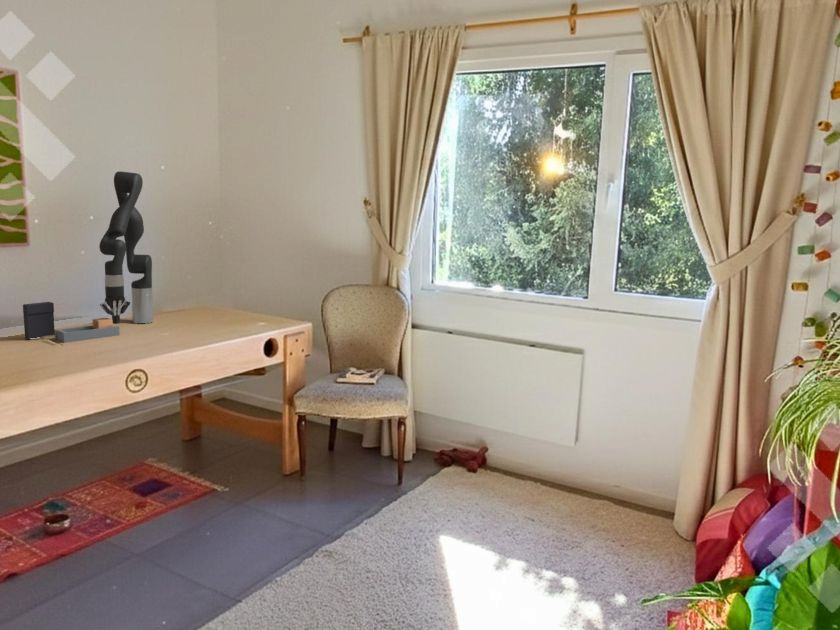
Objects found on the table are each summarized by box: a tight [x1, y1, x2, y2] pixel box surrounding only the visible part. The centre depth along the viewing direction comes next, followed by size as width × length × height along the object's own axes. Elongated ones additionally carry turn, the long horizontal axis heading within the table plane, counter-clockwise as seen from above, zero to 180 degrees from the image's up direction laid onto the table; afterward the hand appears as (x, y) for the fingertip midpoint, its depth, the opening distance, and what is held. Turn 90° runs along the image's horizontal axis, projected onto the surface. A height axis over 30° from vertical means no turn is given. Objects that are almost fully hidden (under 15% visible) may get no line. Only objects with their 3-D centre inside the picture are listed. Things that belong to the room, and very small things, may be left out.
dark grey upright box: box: [22, 301, 55, 340], centre depth 280 cm, size 11×4×15 cm, turn 145°
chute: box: [54, 324, 120, 346], centre depth 282 cm, size 12×26×5 cm, turn 140°
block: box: [92, 317, 114, 329], centre depth 286 cm, size 6×6×7 cm
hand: (116, 323), depth 290 cm, fingers closed
